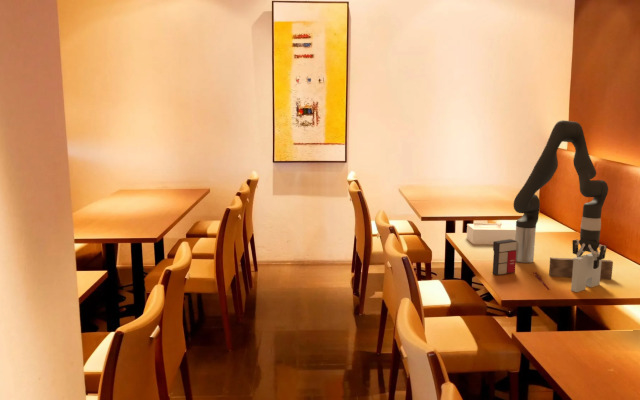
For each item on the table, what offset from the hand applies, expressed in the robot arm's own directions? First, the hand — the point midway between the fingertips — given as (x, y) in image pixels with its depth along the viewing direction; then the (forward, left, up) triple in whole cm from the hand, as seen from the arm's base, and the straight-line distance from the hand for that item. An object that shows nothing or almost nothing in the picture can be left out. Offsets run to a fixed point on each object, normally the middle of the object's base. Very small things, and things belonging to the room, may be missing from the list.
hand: (587, 266), depth 248 cm
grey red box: (-31, +16, -9) cm, 36 cm away
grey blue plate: (0, 0, -9) cm, 9 cm away
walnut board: (+2, +16, -9) cm, 19 cm away
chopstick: (-17, +6, -10) cm, 20 cm away
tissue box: (-28, +80, -10) cm, 85 cm away
